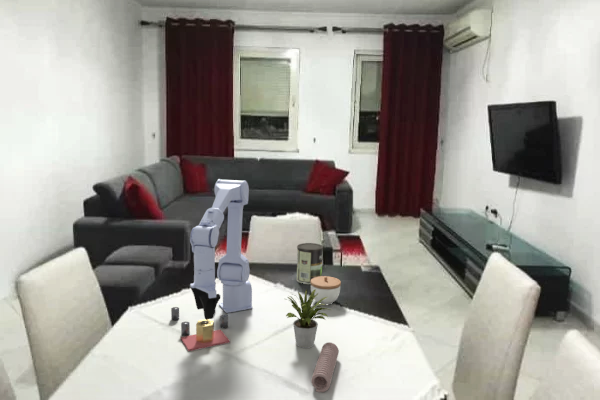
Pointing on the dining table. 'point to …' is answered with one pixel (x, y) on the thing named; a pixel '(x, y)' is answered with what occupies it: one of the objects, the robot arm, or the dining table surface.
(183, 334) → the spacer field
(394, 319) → the dining table surface
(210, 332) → the brass nut
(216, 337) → the red mat
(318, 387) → the coil
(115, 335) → the dining table surface
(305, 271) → the coffee can
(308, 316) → the house plant
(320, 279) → the lidded jar
